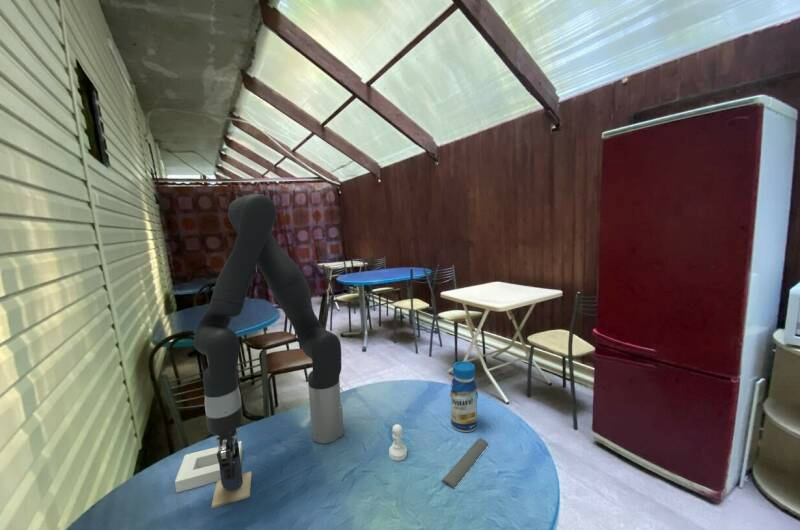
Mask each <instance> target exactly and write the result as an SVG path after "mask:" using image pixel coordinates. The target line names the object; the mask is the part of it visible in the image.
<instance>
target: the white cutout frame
mask: <svg viewBox="0 0 800 530" xmlns="http://www.w3.org/2000/svg"><path fill="white" fill-rule="evenodd" d="M237 442H238V444H239V446H238V447H239V454H240V460H241V461H242V457H243V450H244V449H243V443H242V442H243V441H242V440H240V441H237ZM217 452H218V446H216V447H211V448H207V449H203V450H199V451H196V452H192V453H188V454H185V455H184V457H183V458H182V459H183V460H182V462H181V465H180V467H179V470H178V472H177V474H176V477H175V480H174V484H175V491H176V492H175V493H180V492H181V493H182V492H185V491H187V490H188V491H189V490H191V489H195V488H200V487H202V486H205V485H210V484H213V483H217V481H218V480H221V476H220V467H219V462H218V458H217Z"/></svg>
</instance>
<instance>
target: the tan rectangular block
mask: <svg viewBox="0 0 800 530" xmlns="http://www.w3.org/2000/svg"><path fill="white" fill-rule="evenodd" d="M242 480H243V483H242V485H241V486H240V487H239V488H238V489H236V490H235V489H229V488H223V485H222V484H221V480H218V481H217V482H216V485H215V488H214V489H215V490H214V493H213V497H212V501H211V502H212V503H211V509H215V508H218V507H221V506H225V505H228V504H231V503H234V502H238V501H242V500H244V499H247V498H250V497H251V484H252V471H251V470H250V471H247V472H244V473H243V472H242Z"/></svg>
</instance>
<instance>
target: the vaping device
mask: <svg viewBox="0 0 800 530" xmlns="http://www.w3.org/2000/svg"><path fill="white" fill-rule="evenodd" d="M238 442H239V441H237V442H235V450H236V451H235V454H234V461H235V462H234V468H235V478H233V479H230V480H225V478H224V470H220V476H221V484H222V485H223V488H229V489H235V490H236V489H238V488H239V487H240V486H241V485H242V483H243V480H242V474H243V472H242V459H241V460H240V454H239V447H238V446H239V444H238ZM230 450H231V451H232V448H231V449H230ZM219 467H220V466H219Z"/></svg>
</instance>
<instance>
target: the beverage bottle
mask: <svg viewBox="0 0 800 530" xmlns="http://www.w3.org/2000/svg"><path fill="white" fill-rule="evenodd" d="M452 373H453V378H452V380H451V382H450V388H451V389H450V392H449V395H450V397H451V398H450V401H451V402H450V407H451V409H450V411H451V412H450V413H451V416H450V424H451V426H452V428H454V429H455V430H456V431H459V432H461V433H471V432H472V431H473V432H474V430H476V428H477V426H478V417H477V416H478V399H479V398H478V397H479V396H478V395H479V393H478V391H477V390H478V383H477V380H475V377H476V366H475V364H474V363H472V362H470V361H466V360H461V361H456V362H454V363H453V365H452Z"/></svg>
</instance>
